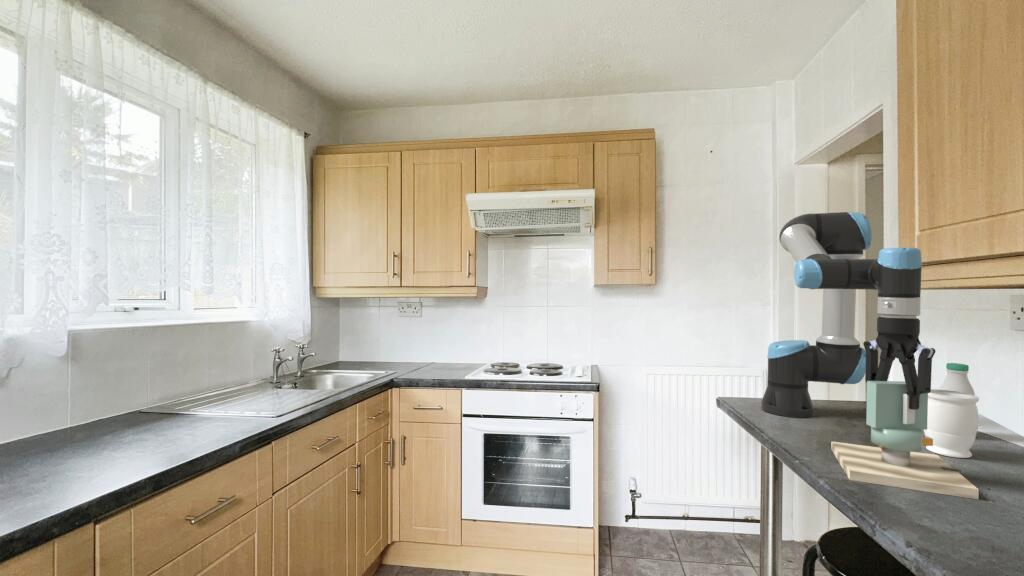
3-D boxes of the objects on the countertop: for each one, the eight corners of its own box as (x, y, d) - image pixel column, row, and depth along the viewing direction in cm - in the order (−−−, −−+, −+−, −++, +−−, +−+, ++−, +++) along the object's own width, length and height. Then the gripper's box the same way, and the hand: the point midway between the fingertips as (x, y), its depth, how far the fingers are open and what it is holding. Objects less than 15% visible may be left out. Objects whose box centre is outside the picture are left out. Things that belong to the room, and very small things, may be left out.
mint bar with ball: (857, 437, 112) (858, 378, 112) (914, 439, 112) (915, 379, 112) (884, 450, 103) (886, 386, 103) (946, 452, 103) (948, 387, 103)
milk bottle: (950, 438, 132) (951, 365, 132) (930, 429, 139) (932, 361, 139) (982, 439, 130) (984, 366, 130) (961, 431, 138) (962, 362, 138)
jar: (970, 450, 122) (971, 392, 122) (984, 463, 113) (985, 400, 113) (916, 443, 127) (917, 386, 127) (925, 454, 118) (927, 394, 118)
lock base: (830, 448, 122) (831, 426, 122) (939, 462, 113) (939, 438, 113) (849, 479, 103) (850, 453, 102) (983, 500, 94) (983, 471, 93)
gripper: (847, 314, 114) (845, 411, 115) (933, 320, 98) (930, 433, 98) (868, 313, 117) (866, 408, 117) (956, 319, 100) (953, 430, 101)
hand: (895, 419), depth 108 cm, fingers closed on mint bar with ball, 4 cm apart
